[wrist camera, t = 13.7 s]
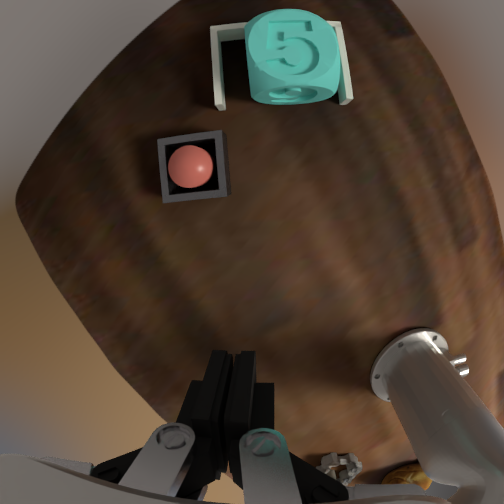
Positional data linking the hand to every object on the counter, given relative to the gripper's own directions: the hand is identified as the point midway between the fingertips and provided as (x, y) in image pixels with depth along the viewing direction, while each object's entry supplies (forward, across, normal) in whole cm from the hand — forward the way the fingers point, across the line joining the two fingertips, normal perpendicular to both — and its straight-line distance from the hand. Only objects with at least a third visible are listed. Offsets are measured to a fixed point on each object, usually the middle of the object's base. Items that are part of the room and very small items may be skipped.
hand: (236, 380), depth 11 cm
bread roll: (+25, -30, +49) cm, 62 cm away
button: (+21, +6, -9) cm, 24 cm away
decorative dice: (+23, -4, -20) cm, 30 cm away
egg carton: (+24, -13, +41) cm, 50 cm away
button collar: (+23, +6, -9) cm, 25 cm away
